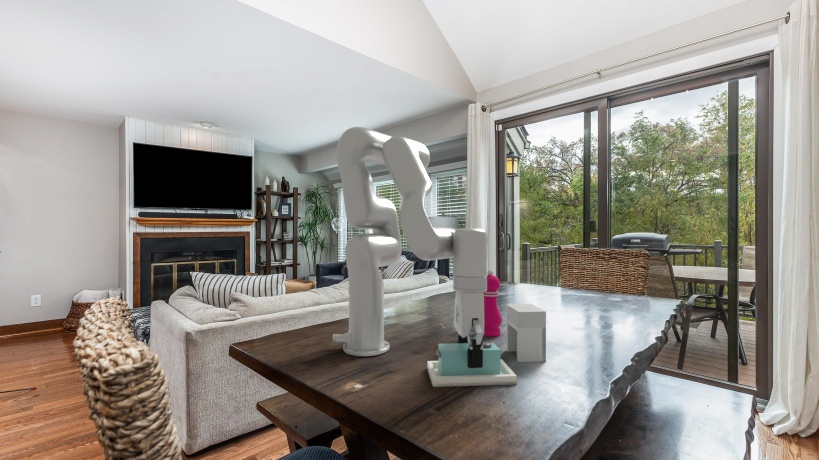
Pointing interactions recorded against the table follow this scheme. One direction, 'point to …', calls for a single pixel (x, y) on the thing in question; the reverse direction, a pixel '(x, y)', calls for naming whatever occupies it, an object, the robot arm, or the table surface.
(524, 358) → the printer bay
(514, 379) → the tray
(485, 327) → the pepper mill
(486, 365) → the mint rectangular box
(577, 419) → the table surface
